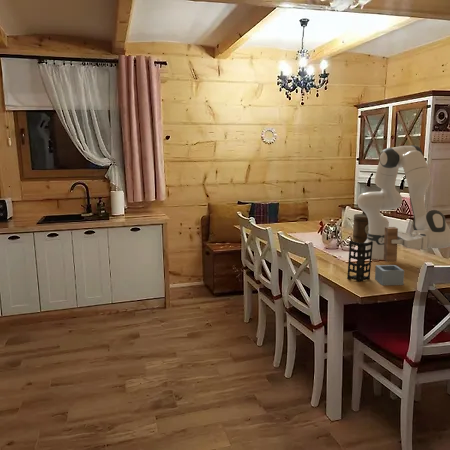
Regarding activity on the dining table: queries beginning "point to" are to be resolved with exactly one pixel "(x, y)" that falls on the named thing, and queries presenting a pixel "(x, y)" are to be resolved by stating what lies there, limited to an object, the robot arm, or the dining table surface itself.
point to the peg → (390, 244)
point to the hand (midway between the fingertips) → (388, 240)
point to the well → (389, 275)
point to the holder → (359, 261)
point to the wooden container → (360, 227)
